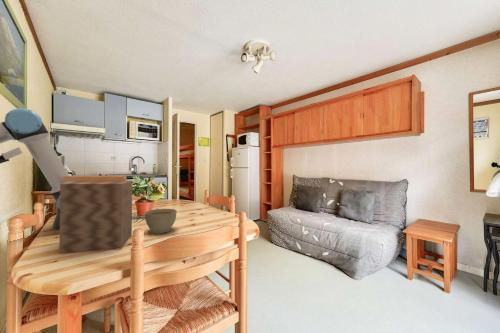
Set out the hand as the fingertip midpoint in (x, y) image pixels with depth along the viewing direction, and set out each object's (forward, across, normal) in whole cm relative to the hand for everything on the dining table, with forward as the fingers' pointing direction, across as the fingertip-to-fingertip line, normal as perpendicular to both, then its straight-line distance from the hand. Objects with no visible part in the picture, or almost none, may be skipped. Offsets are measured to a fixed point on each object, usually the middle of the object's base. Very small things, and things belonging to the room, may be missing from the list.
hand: (8, 149), depth 91 cm
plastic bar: (+21, 0, -28) cm, 35 cm away
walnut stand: (+10, +4, -54) cm, 55 cm away
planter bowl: (+31, -8, -66) cm, 73 cm away
